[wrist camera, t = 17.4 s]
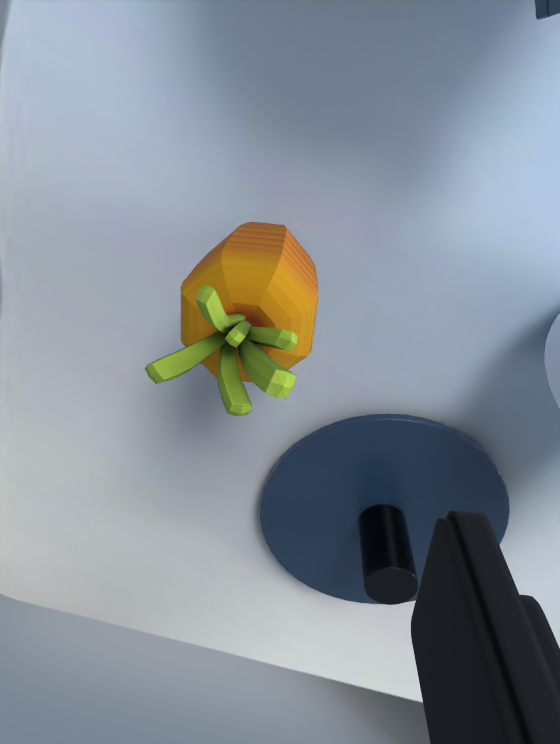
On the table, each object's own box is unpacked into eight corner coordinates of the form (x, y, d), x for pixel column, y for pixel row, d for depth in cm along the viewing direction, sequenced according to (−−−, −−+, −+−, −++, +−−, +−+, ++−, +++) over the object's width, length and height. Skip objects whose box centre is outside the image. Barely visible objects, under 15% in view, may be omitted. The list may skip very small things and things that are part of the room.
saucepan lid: (488, 381, 30) (525, 447, 24) (515, 571, 37) (549, 656, 31) (229, 438, 33) (211, 508, 28) (298, 604, 40) (295, 686, 34)
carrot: (207, 261, 28) (105, 419, 14) (249, 172, 25) (172, 263, 12) (291, 304, 28) (267, 492, 15) (338, 221, 26) (357, 358, 13)
